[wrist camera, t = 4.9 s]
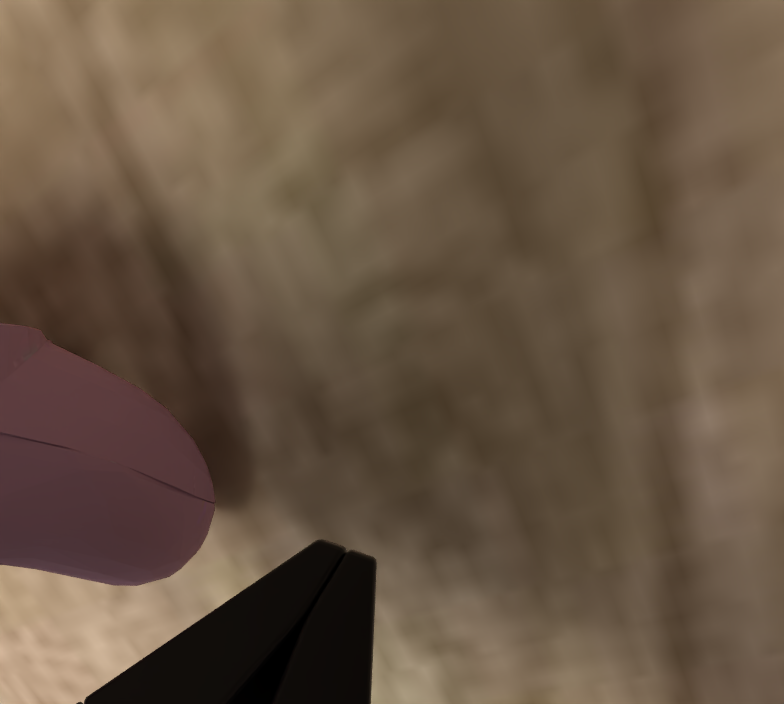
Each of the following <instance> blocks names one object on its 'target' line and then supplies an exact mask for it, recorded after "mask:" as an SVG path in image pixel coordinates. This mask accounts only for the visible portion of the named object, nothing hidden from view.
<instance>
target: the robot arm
mask: <svg viewBox="0 0 784 704" xmlns="http://www.w3.org/2000/svg"><path fill="white" fill-rule="evenodd" d="M376 569H377V562H376V559H375V558H374V557H372V556H369V555H366V554H364V553H361V552H358V551H355V550H349V551H348V552H347V550H346V548H345V547H343V546H341V545H338V544H335V543H332V542H329V541H326V540H323V539H321V540H317V541H315V542H314V543H312V544H311V545H309V546H308V547H306V548H305V549H303V550H302V551H300V552H299V553H297V554H296V555H294V556H293V557H292V558H290V559H289V560H287V561H286V562H284V563H283V564H281V565H280V566H278V567H277V568H275V569H274V570H272V571H271V572H270V573H268V574H267V575H265V576H264V577H262V578H261V579H259V580H258V581H256V582H255V583H253V584H252V585H250V586H249V587H247V588H246V589H245V590H243V591H242V592H240V593H239V594H237V595H236V596H234V597H233V598H231V599H230V600H228V601H227V602H225V603H224V604H223V605H221V606H220V607H218V608H217V609H215V610H214V611H212V612H211V613H209V614H208V615H206V616H205V617H203V618H202V619H201V620H199V621H198V622H196V623H195V624H193V625H192V626H190V627H189V628H187V629H186V630H184V631H183V632H181V633H180V634H178V635H177V636H176V637H174V638H173V639H171V640H170V641H168V642H167V643H165V644H164V645H162V646H161V647H159V648H158V649H156V650H155V651H154V652H152V653H151V654H149V655H148V656H146V657H145V658H143V659H142V660H140V661H139V662H137V663H136V664H134V665H133V666H131V667H130V668H129V669H127V670H126V671H124V672H123V673H121V674H120V675H118V676H117V677H115V678H114V679H112V680H111V681H109V682H108V683H107V684H105V685H104V686H102V687H101V688H99V689H98V690H96V691H95V692H93V693H92V694H90V695H89V696H87V697H86V699H85V701H84V704H371V686H372V663H373V639H374V616H375V592H376ZM77 704H83V703H82V702H78V703H77Z"/></svg>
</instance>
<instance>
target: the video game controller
mask: <svg viewBox="0 0 784 704" xmlns="http://www.w3.org/2000/svg"><path fill="white" fill-rule="evenodd" d="M214 503H216V502H215V495H214V489H213V483H212V480H211V477H210V473H209V470H208V467H207V465H206V462H205V460H204V458H203V456H202V454H201V453H200V451H199V449H198V447H197V445H196V443H195V442H194V440H193V438H192V437H191V436H190V435H189V434H188V432H187V431H186V430H185V429H184V428H183V427H182V425H181V424H180V423H179V422H178V421H177V420H176V418H175V417H174V416H173V415H172V414H171V413H170V411H169V410H168V409H167V408H165V407H164V406H163V405H161V404H160V403H159V402H157V401H156V400H155V399H153V398H152V397H151V396H149V395H148V394H147V393H145V392H144V391H143V390H141V389H140V388H138V387H136V386H135V385H133V384H131V383H129V382H127V381H126V380H124V379H122V378H120V377H118V376H117V375H115V374H113V373H111V372H109V371H107V370H105V369H103V368H102V367H100V366H98V365H96V364H94V363H92V362H90V361H88V360H86V359H84V358H82V357H80V356H77V355H75V354H73V353H71V352H69V351H67V350H65V349H63V348H61V347H59V346H57V345H55V344H52V341H51V340H46V338H45V336H44V334H43V333H42V331H41V330H40V329H36V328H32V327H28V326H21V325H13V324H5V323H0V565H9V566H17V567H24V568H31V569H38V570H43V571H47V572H52V573H57V574H62V575H67V576H71V577H76V578H81V579H86V580H91V581H96V582H100V583H105V584H110V585H130V586H137V585H141V584H145V583H148V582H152V581H156V580H159V579H163V578H167V577H170V576H171V575H173V574H174V573H175V572H177V571H178V570H180V569H181V568H182V567H183V566H184V565H185V564H186V563H187V562H188V561H189V560H190V559H191V558H192V557H193V556H194V555H195V554H196V553H197V551H198V550H199V549H200V547H201V545H202V544H203V542H204V540H205V538H206V536H207V534H208V531H209V528H210V524H211V521H212V518H213V514H214V511H215V505H214Z"/></svg>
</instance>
